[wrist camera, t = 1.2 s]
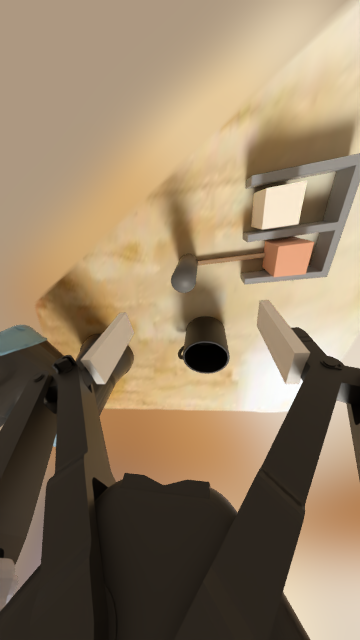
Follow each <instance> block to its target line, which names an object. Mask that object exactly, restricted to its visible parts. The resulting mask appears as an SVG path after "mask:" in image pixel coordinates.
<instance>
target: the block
mask: <svg viewBox="0 0 360 640" xmlns="http://www.w3.org/2000/svg"><path fill="white" fill-rule="evenodd" d="M307 181H308V180H307ZM307 181H302V182H296V183H291V184H286V185H281V186H275V187H270V188H266V189H263V190H261V191H258V192H256V193H254V198H253V211H252V224H251V227H254V228H258V229H269V228H276V227H283V226H289V225H296V224H298V223H299V219H300V214H301V209H302V204H303V200H304V195H305V190H306V186H307Z"/></svg>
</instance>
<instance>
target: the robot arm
mask: <svg viewBox="0 0 360 640" xmlns="http://www.w3.org/2000/svg"><path fill="white" fill-rule="evenodd" d="M257 327H258V329H259V331H260V333H261V335H262V337H263V339H264V341H265V343H266V345H267V347H268V349H269V351H270V353H271V355H272V357H273V359H274V361H275V363H276V365H277V367H278V369H279V371H280V373H281V375H282V377H283V380H284V382H285V384H299V382H300V379H302V380H303V383H302V385H301V387H300V389H299V391H298V393H297V395H296V397H295V399H294V401H293V403H292V405H291V407H290V410H289V412H288V414H287V416H286V418H285V420H284V422H283V424H282V426H281V428H280V430H279V432H278V434H277V436H276V438H275V440H274V442H273V444H272V446H271V448H270V451H269V452H268V455H267V457H266V459H265V461H264V463H263V465H262V467H261V468H260V469H259V471H258V473H257V475H256V477H255V479H254V481H253V483H252V485H251V487H250V489H249V491H248V493H247V495H246V497H245V499H244V501H243V503H242V505H241V507H240V509H239V511H238V513H237V511H236V510H235V509H234V507H233V506H232V505H231V503H230V502H229V501H228V500H227V499H226V498H225V497H224V496H223V495H222V494H220V493H219V492H217V491H216V490H214V489H212V488H210V484H209V482H203V481H194V480H184V481H180V482H177V483H172V484H168V485H162V484H160V483H158V482H156V481H154V480H152V479H150V478H148V477H147V476H145V475H139V474H129V473H125V474H124V477H123V480H120V481H118V482H116V481H115V479H114V477H113V475H112V472H111V469H110V465H109V461H108V455H107V451H106V446H105V441H104V437H103V431H102V427H101V422H100V417H99V416H100V414H101V412H102V410H103V408H104V406H105V404H106V402H107V400H108V398H109V396H110V394H111V392H112V390H113V388H114V386H115V384H116V383H117V382H118V381H119V380H120V378H121V377H122V376H123V375H124V374H126V373H127V372H128V371H129V369H130V368H131V366H132V364H133V361H134V357H133V353H132V351H131V349H130V348H129V347H128V346H127V345H128V343H129V342H130V340H131V338H132V336H133V335H134V331H133V329H132V326H131V323H130V321H129V318H128V316H127V313H119V314H118V316H117V317H116V318H115V319H114V320H113V322H112V323H111V324H110V325H109V326H108V328H107V329H106V330H105V331H104V332H103V334H95V335H92V336H90V337H89V338H88V339H87V340H86V341H85V342H84V343H83V344H82V346H81V348H80V353H79V355H78V357H77V359H76V361H75V360H74V359H73V357H72V356H71V355H66V356H64V355H63V354H61V353H60V352H59V351H58V350H57V349H56V348H55V347H54V346H53V345H51V344H50V343H49V342H48V341H47V338H45V337H43V336H41V335H40V334H39V333H38V332H36V331H35V330H34V329H33V328H31V327H30V326H27V325H16V326H13V327H11V328H8V329H6V330H4V331H1V332H0V427H1V426H2V425H3V424H4V423H5V424H4V425H3V427H2V429H1V431H0V640H310V638H309V637H308V635H307V633H306V631H305V630H304V628H303V626H302V625H301V623H300V621H299V619H298V617H297V616H296V614H295V612H294V610H293V609H292V607H291V605H290V603H289V602H288V600H287V598H286V596H285V595H284V593H283V589H284V586H285V582H286V579H287V575H288V572H289V568H290V565H291V561H292V558H293V555H294V551H295V548H296V545H297V541H298V537H299V534H300V530H301V527H302V523H303V519H304V515H305V503H306V499H307V495H308V492H309V489H310V486H311V482H312V479H313V475H314V472H315V469H316V466H317V462H318V459H319V455H320V452H321V449H322V446H323V443H324V439H325V436H326V433H327V429H328V426H329V422H330V419H331V415H332V413H333V409H334V406H335V403H336V400H337V401H341V402H345V403H346V404H347V409H348V415H349V421H350V427H351V433H352V439H353V445H354V451H355V456H356V462H357V468H358V474H359V480H360V369H359V368H354V367H348V366H344V365H343V363H342V362H340V361H339V360H338V359H335V358H333V357H330V356H327V355H326V354H325V353H324V352H323V351H322V350H321V349H320V348H319V346H318V345H317V344H316V343H315V342H314V341H313V340H312V338H311V337H310V336H309V335H308V334H307V333H306V332H305V331H304V330H302V329H300V328H299V327H296V328H290V326H289V325H288V324H287V323H286V321H285V320H284V319H283V317H282V316H281V315H280V314H279V312H278V311H277V310H276V308H275V307H274V306H273V305H272V303H271V302H270V301H269V300H261V301H260V302H259V310H258V319H257ZM53 446H56V463H55V474H54V476H53V477H51V478H50V479H49V481H48V482H47V486H46V497H45V512H44V527H43V542H42V557H41V565H40V566H39V567H38V568H37V569H36V570H35V571H34V573H33V574H32V575H31V576H30V577H29V579H28V580H27V581H26V582H25V583H24V584H23V585H22V587H21V588H20V589H19V590H18V591H17V592H16V594H15V595H14V596H13V594H14V592H15V590H16V588H17V583H18V576H17V575H14V572H15V564H16V562H17V560H18V557H19V555H20V552H21V549H22V547H23V544H24V542H25V539H26V536H27V533H28V530H29V527H30V524H31V521H32V517H33V514H34V510H35V507H36V503H37V500H38V496H39V493H40V489H41V486H42V482H43V479H44V475H45V472H46V468H47V465H48V461H49V458H50V454H51V451H52V447H53ZM12 596H13V597H12Z"/></svg>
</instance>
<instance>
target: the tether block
mask: <svg viewBox="0 0 360 640" xmlns="http://www.w3.org/2000/svg"><path fill="white" fill-rule="evenodd" d="M313 245H314V242H312V241H308V240H304V239H300V238H296V237H289V238H282V239H275V240H267V241H265V247H264V252H263V253H255V254H247V255H239V256H231V257H223V258H215V259H207V260H199V261H197V259H196V257H195V256H194V255H192V254H185V255H183V256H182V257H181V259H180V261H179V263H178V265H177V267H176V269H175V271H174V273H173V275H172V278H171V283H172V286H173V287H174V289H175V290H177V291H178V292H181V293H186V292H189V291H191V290H192V289H193V288H194V286H195V284H196V275H197V266H198V265H205V264H213V263H222V262H230V261H238V260H247V259H255V258H263V264H262V267H263V268H264V269H265V270H266V271H267V272H268V273H269V274H271V275H272V276H273V277H282V276H292V275H302V274H306V271H307V267H308V263H309V260H310V256H311V252H312V249H313Z"/></svg>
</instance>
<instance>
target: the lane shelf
mask: <svg viewBox="0 0 360 640" xmlns="http://www.w3.org/2000/svg"><path fill="white" fill-rule="evenodd" d="M334 171H337V172H336V175H335V179H334V182H333V186H332V190H331V193H330V197H329V200H328V204H327V208H326V211H325V215H324V218H323V221H320V222H313V223H306V224H300V225H293V226H286V227H279V228H273V229H266V230H259V231H252V232H246V233H243V240H245V241H246V242H252V241H260V240H267V239H274V238H281V237H289V236H296V235H303V234H311V233H318V232H320V233H319V236H318V240H317V243H316V247H315V250H314V254H313V258H312V261H311V265H310V266H308V267H307V271H306V274H302V275H292V276H282V277H273V276H272V275H271V274H269V273H268V272H267V271H266V270H265V271H256V272H246V273H241V279H242V281H243V283H244V284H255V283H265V282H276V281H287V280H297V279H308V278H319V277H327V275H328V272H329V269H330V266H331V264H332V261H333V258H334V255H335V252H336V249H337V246H338V243H339V240H340V238H341V235H342V232H343V229H344V226H345V223H346V220H347V217H348V214H349V212H350V209H351V206H352V203H353V200H354V197H355V194H356V191H357V188H358V186H359V183H360V153H359V154H354V155H350V156H345V157H340V158H335V159H330V160H325V161H321V162H316V163H311V164H306V165H301V166H296V167H291V168H287V169H282V170H277V171H272V172H267V173H262V174H258V175H253V176H251V177H250V178H248V179H247V180H246V189H247V188H252V187H257V186H262V185H267V184H273V183H278V182H283V181H288V180H293V179H298V178H303V177H309V176H314V175H319V174H324V173H329V172H334Z"/></svg>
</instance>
